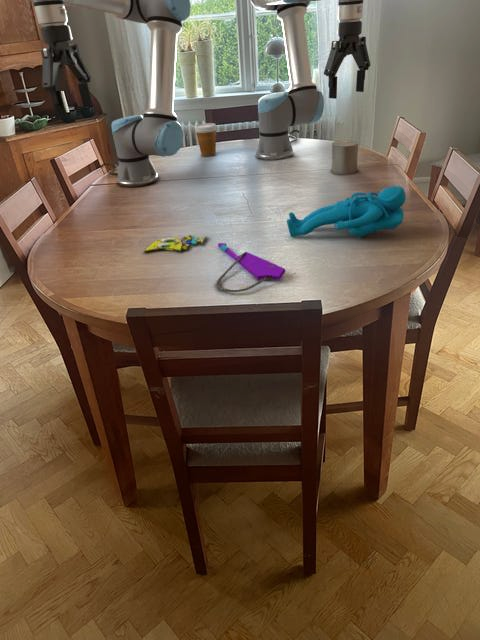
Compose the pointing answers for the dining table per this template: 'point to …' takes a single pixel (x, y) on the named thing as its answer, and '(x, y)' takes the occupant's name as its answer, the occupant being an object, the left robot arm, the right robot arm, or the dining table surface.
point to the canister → (344, 157)
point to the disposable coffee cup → (206, 138)
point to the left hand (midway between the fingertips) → (75, 112)
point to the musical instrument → (252, 267)
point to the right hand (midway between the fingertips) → (346, 95)
